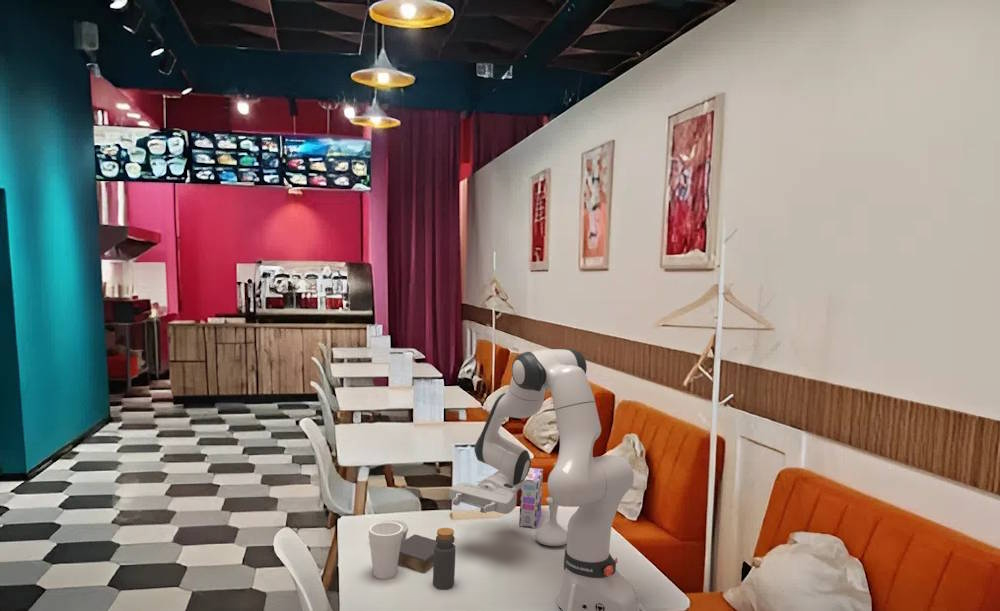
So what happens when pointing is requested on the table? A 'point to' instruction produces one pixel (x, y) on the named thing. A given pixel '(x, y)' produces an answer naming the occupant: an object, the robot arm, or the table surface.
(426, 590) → the table surface
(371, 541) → the foam cup
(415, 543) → the podium
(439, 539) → the bottle
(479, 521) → the table surface
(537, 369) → the robot arm
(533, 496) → the candy box
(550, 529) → the grey vase
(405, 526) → the ramekin
